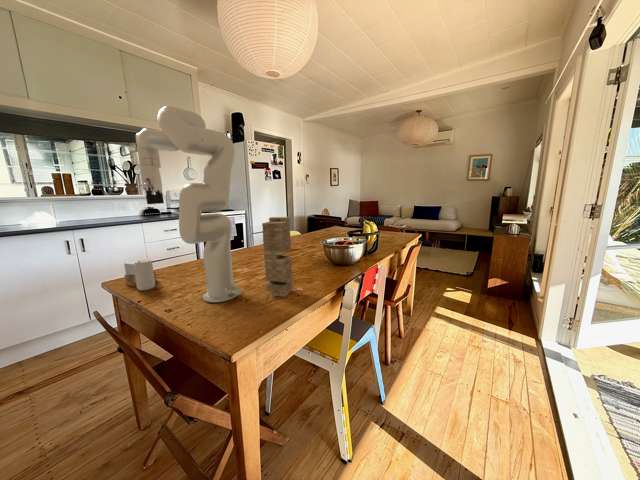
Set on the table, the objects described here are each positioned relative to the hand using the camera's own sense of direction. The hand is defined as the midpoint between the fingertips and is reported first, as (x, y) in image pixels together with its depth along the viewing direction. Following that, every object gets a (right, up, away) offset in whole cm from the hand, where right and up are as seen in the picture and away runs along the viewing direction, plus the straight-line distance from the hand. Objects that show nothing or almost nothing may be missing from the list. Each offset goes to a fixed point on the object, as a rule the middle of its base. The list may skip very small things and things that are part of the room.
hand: (155, 203), depth 112 cm
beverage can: (0, -37, -6) cm, 37 cm away
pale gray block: (-7, -31, 0) cm, 31 cm away
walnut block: (-7, -36, +1) cm, 36 cm away
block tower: (+57, -37, -14) cm, 70 cm away
